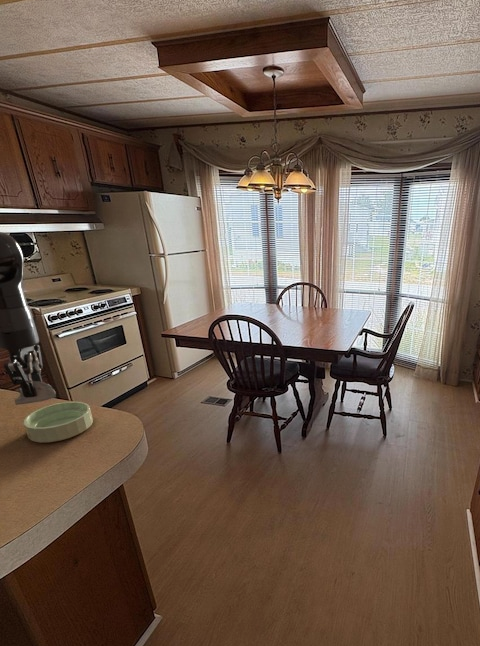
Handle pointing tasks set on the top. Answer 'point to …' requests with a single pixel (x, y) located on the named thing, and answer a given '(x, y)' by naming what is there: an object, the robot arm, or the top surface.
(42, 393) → the crumpled paper
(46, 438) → the bowl
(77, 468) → the top surface
